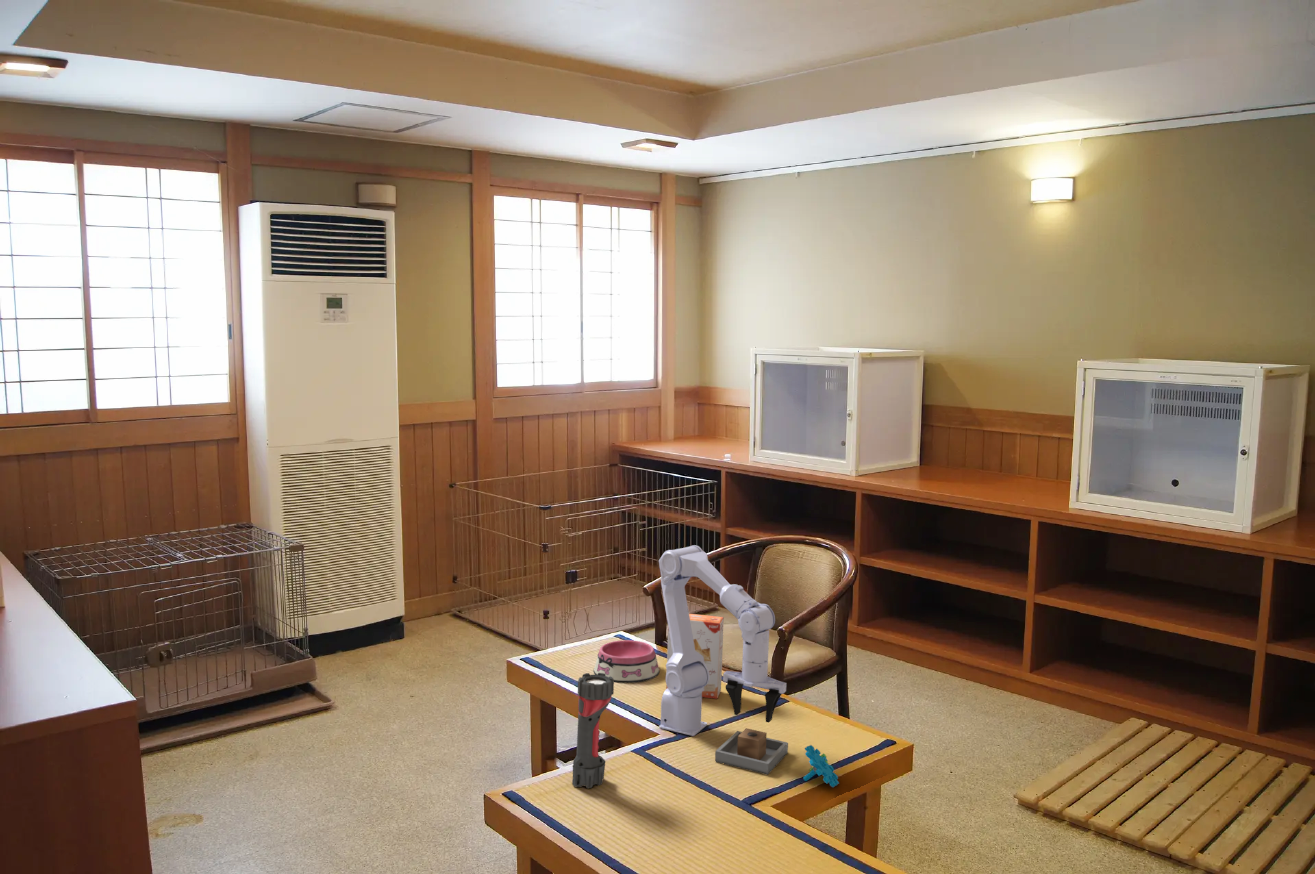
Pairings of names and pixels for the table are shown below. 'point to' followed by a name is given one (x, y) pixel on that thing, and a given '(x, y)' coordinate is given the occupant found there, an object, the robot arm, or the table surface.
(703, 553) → the robot arm
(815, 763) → the gear
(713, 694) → the cracker box
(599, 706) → the flashlight
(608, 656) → the dog bowl
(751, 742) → the walnut block
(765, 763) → the tray
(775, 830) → the table surface
